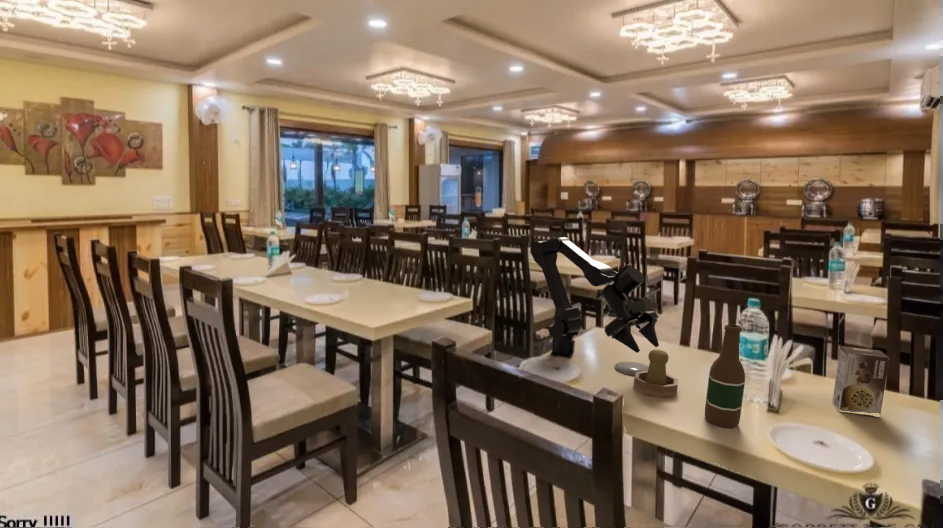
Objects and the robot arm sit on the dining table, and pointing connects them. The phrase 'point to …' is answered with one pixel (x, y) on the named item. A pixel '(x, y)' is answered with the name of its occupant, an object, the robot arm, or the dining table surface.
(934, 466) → the dining table surface
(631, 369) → the slate coaster
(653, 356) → the cork
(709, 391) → the beer bottle
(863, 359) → the coffee box
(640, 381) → the guard ring
